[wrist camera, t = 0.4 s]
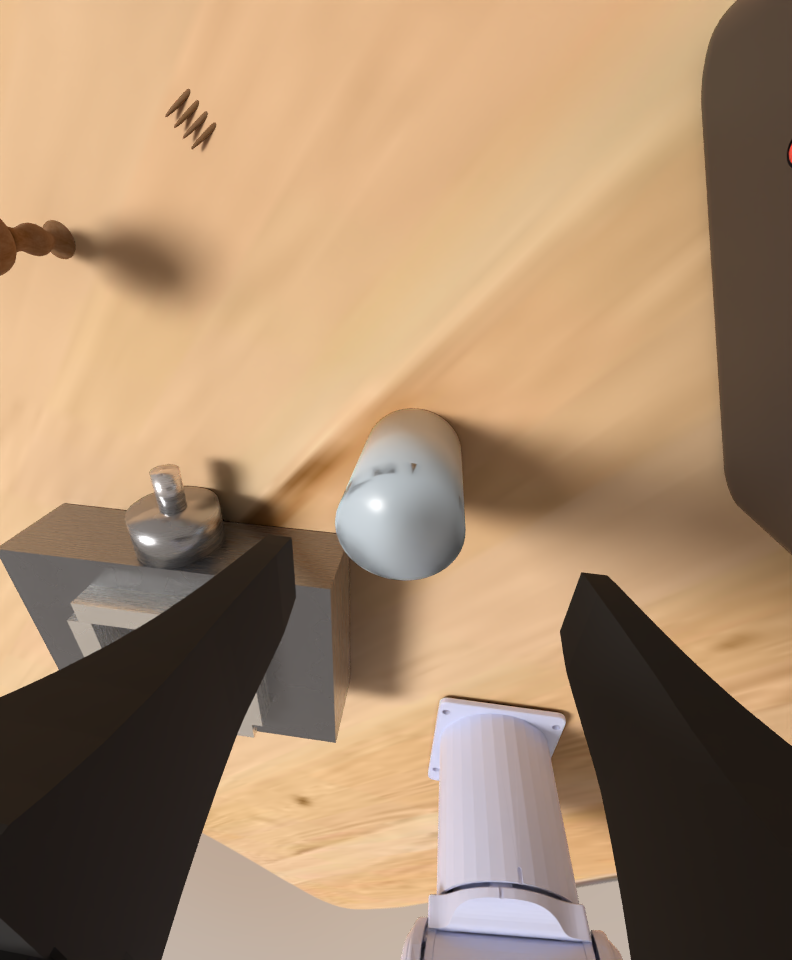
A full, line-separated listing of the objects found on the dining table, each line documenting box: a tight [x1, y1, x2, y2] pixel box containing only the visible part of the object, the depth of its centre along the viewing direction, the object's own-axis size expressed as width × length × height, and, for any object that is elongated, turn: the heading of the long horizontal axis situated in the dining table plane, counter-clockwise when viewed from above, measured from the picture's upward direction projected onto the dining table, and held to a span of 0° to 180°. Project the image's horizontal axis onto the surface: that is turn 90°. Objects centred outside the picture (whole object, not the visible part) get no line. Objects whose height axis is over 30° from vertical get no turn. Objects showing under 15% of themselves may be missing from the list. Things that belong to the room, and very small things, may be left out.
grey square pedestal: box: [0, 464, 350, 743], centre depth 22 cm, size 16×16×5 cm
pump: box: [335, 408, 465, 580], centre depth 17 cm, size 4×4×6 cm
